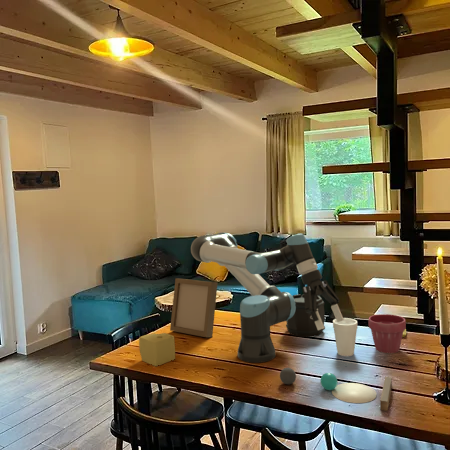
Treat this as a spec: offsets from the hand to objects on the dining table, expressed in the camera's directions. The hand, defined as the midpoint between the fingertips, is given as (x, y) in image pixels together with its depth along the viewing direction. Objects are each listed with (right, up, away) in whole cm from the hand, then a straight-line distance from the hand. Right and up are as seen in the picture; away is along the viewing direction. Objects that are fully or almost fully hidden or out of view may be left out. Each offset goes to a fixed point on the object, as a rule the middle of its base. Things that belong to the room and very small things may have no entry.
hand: (331, 325), depth 175 cm
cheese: (-67, -17, +12) cm, 70 cm away
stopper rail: (+11, -17, -28) cm, 34 cm away
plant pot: (+25, -13, +13) cm, 31 cm away
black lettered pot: (-3, -12, +39) cm, 41 cm away
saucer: (+35, -11, +30) cm, 48 cm away
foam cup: (+8, -14, +10) cm, 19 cm away
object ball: (-6, -14, -21) cm, 26 cm away
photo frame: (-53, -13, +46) cm, 71 cm away
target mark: (+2, -17, -24) cm, 29 cm away
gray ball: (-18, -14, -15) cm, 28 cm away
